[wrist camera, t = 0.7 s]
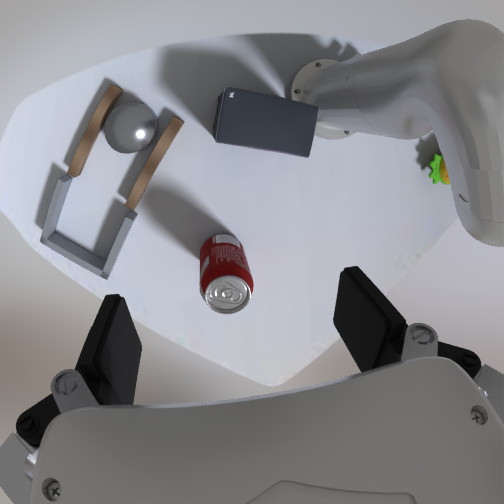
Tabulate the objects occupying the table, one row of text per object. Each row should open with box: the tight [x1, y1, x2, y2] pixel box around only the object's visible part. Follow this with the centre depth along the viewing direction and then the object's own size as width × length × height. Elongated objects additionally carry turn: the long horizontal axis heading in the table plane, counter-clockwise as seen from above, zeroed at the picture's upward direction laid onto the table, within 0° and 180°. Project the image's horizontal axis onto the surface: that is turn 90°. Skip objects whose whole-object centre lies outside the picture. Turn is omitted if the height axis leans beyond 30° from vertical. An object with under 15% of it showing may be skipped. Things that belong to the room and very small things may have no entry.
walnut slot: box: [67, 84, 184, 210], centre depth 33 cm, size 14×12×2 cm
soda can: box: [200, 234, 253, 314], centre depth 38 cm, size 7×7×12 cm
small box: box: [213, 87, 319, 158], centre depth 31 cm, size 11×6×10 cm, turn 80°
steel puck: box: [104, 102, 158, 154], centre depth 32 cm, size 7×7×3 cm
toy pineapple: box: [429, 154, 450, 184], centre depth 40 cm, size 7×10×5 cm
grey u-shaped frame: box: [40, 175, 137, 280], centre depth 36 cm, size 11×13×3 cm
